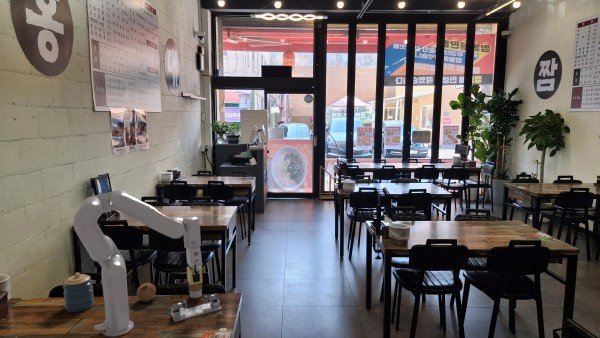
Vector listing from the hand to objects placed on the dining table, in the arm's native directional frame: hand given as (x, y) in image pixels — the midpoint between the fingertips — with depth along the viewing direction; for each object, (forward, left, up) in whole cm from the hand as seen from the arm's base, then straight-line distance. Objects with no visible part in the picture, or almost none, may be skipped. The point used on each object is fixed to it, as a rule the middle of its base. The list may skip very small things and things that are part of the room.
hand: (194, 279), depth 187 cm
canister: (-48, +38, -17) cm, 64 cm away
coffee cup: (+5, +18, -17) cm, 25 cm away
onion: (-18, +27, -17) cm, 37 cm away
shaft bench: (0, 0, -16) cm, 16 cm away
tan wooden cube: (0, 0, -1) cm, 1 cm away
